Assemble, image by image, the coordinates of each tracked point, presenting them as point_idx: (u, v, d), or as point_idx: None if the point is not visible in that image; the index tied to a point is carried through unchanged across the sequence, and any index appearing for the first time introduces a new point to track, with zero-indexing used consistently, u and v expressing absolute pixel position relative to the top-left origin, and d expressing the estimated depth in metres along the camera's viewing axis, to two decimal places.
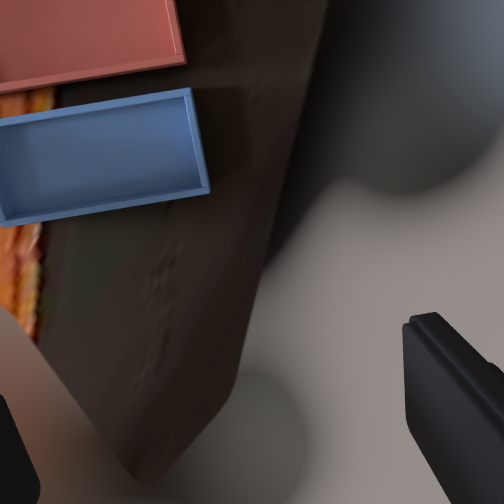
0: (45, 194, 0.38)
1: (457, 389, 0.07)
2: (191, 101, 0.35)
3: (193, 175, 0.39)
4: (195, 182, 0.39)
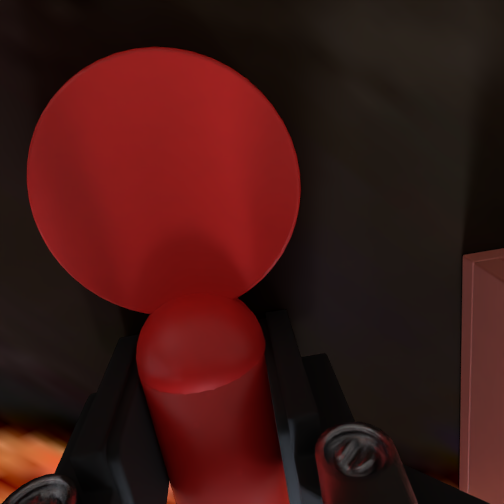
0: None
1: (268, 375, 0.08)
2: None
3: None
4: None
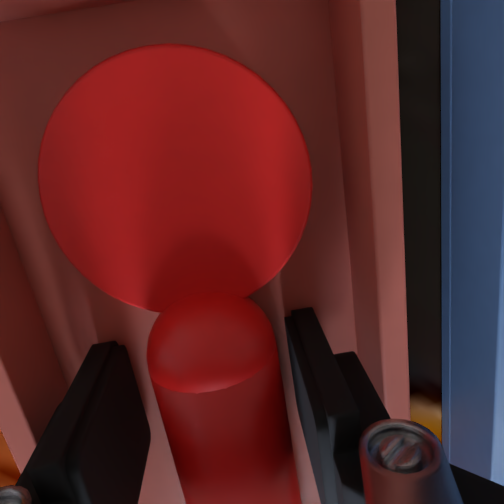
0: None
1: (300, 372, 0.08)
2: None
3: None
4: None
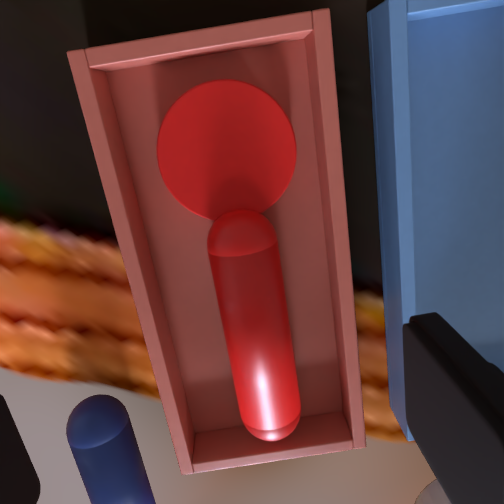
0: None
1: (457, 389, 0.07)
2: None
3: None
4: None
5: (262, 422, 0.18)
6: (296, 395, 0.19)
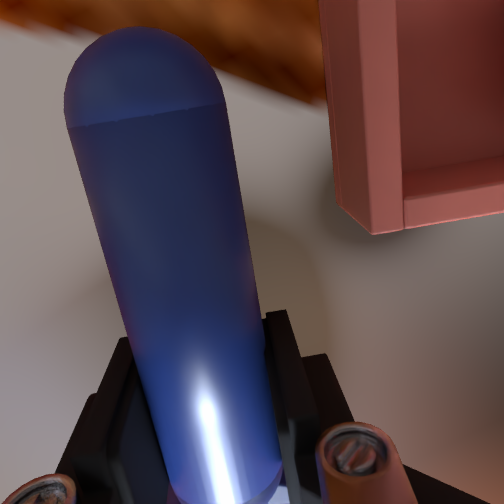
0: None
1: None
2: None
3: None
4: None
5: None
6: None
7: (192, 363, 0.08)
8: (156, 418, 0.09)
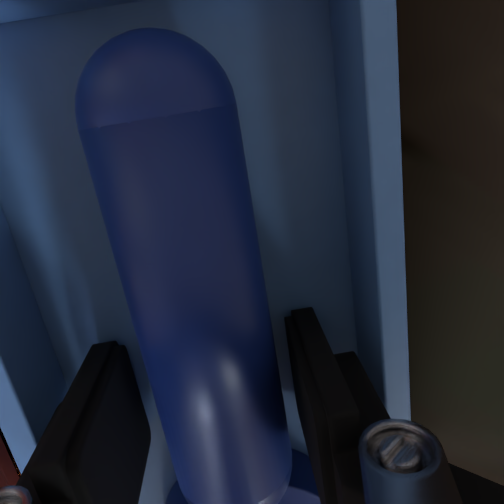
0: None
1: (300, 372, 0.08)
2: None
3: (286, 18, 0.09)
4: (319, 10, 0.09)
5: None
6: None
7: (203, 365, 0.08)
8: (166, 420, 0.09)
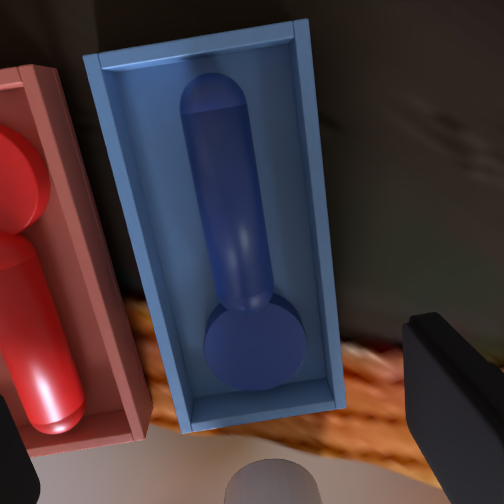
0: None
1: (457, 389, 0.07)
2: (110, 53, 0.16)
3: (270, 64, 0.19)
4: (285, 61, 0.19)
5: (36, 417, 0.21)
6: (70, 393, 0.21)
7: (231, 219, 0.18)
8: (212, 252, 0.19)
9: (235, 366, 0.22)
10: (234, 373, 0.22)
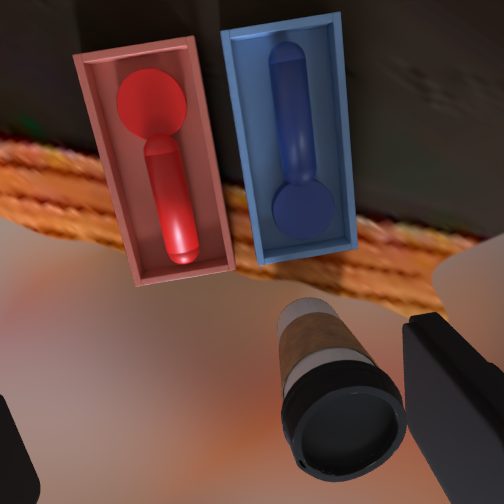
0: None
1: (457, 389, 0.07)
2: (235, 29, 0.31)
3: (316, 37, 0.33)
4: (325, 36, 0.33)
5: (176, 249, 0.35)
6: (194, 236, 0.35)
7: (296, 123, 0.32)
8: (284, 144, 0.33)
9: (291, 222, 0.36)
10: (291, 227, 0.36)
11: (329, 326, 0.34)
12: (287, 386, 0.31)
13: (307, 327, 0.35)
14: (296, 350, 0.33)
